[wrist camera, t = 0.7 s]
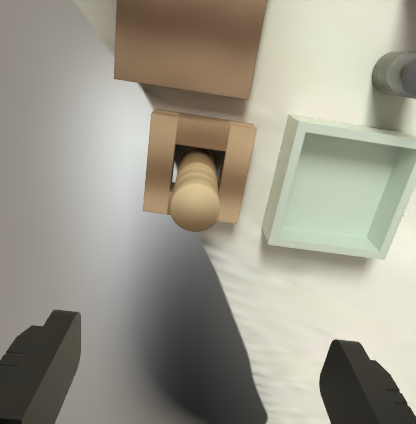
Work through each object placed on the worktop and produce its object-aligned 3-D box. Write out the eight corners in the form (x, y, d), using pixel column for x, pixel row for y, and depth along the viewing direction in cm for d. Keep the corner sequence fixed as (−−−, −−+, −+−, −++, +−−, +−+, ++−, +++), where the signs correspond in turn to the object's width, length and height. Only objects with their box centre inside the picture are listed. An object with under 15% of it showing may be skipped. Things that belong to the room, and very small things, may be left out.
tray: (288, 114, 29) (298, 121, 26) (409, 133, 30) (432, 142, 26) (261, 227, 33) (267, 244, 30) (368, 241, 34) (384, 259, 31)
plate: (128, -79, 24) (120, -93, 22) (271, -52, 25) (278, -63, 22) (121, 76, 28) (114, 78, 26) (244, 95, 29) (248, 99, 26)
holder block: (155, 108, 28) (151, 113, 26) (252, 123, 29) (256, 129, 27) (147, 199, 32) (142, 211, 29) (234, 211, 32) (237, 223, 30)
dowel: (182, 143, 30) (173, 182, 20) (217, 149, 30) (224, 189, 21) (178, 177, 31) (167, 228, 22) (212, 182, 31) (215, 234, 22)
